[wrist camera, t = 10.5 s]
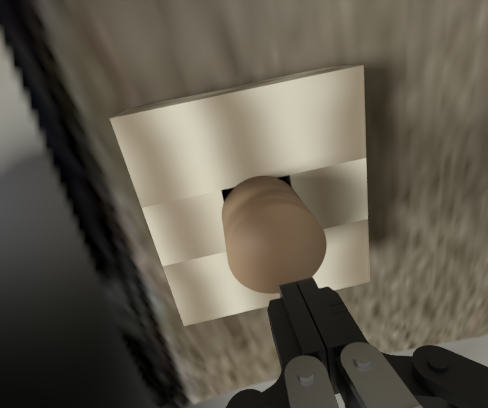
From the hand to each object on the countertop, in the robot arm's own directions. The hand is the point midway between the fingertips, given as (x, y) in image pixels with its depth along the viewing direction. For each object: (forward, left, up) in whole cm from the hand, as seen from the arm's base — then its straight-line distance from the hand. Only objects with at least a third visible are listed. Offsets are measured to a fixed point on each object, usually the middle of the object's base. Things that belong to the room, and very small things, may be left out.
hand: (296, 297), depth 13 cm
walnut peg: (0, 0, -13) cm, 13 cm away
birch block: (0, 0, -14) cm, 14 cm away
